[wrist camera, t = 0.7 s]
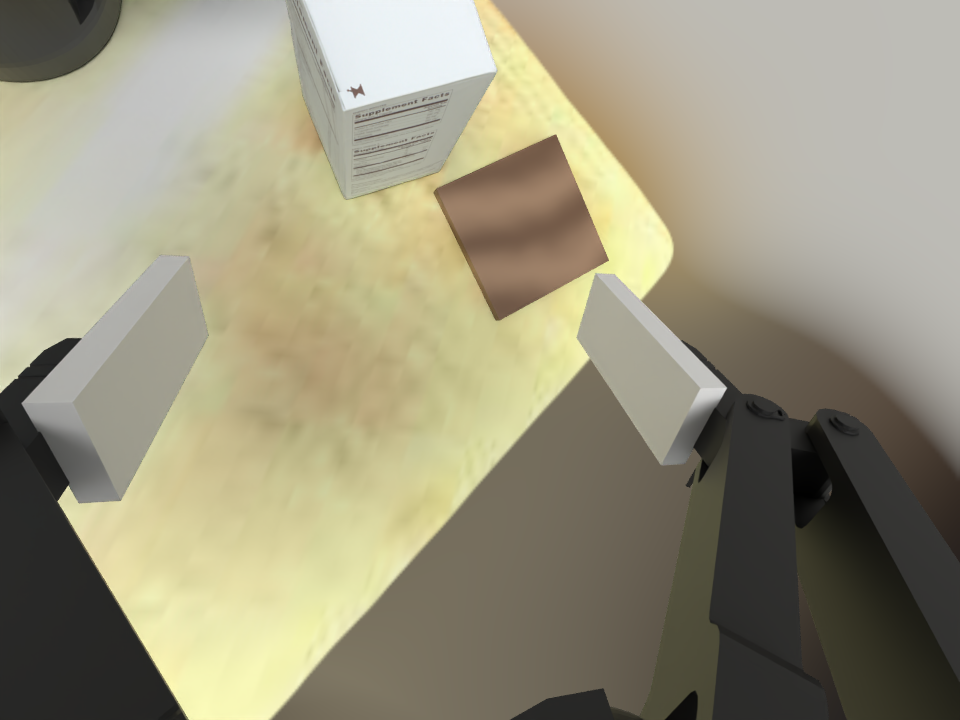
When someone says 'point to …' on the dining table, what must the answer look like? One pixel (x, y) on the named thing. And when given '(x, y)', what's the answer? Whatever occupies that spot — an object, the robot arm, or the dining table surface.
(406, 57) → the supplement box
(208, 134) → the dining table surface
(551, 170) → the walnut board
